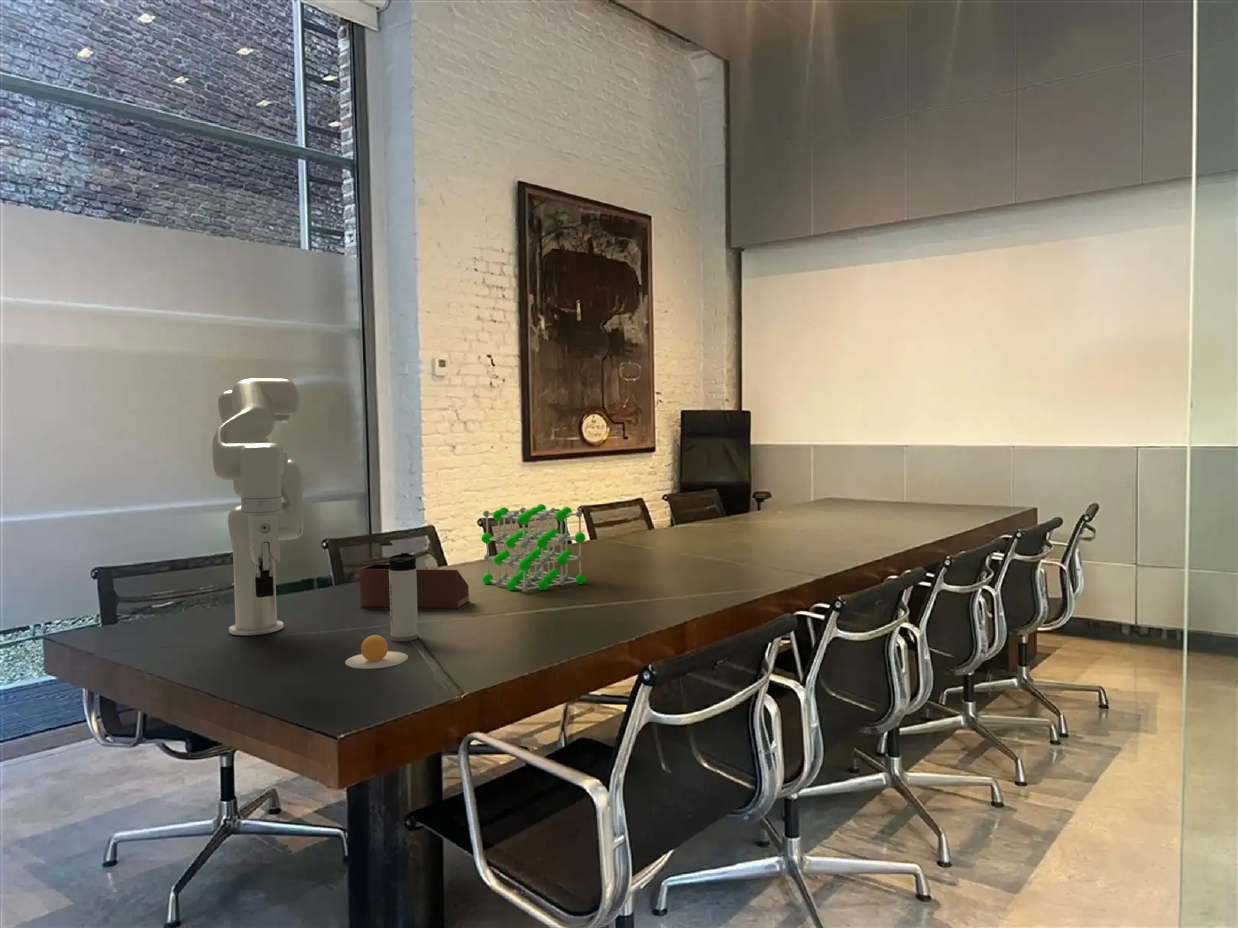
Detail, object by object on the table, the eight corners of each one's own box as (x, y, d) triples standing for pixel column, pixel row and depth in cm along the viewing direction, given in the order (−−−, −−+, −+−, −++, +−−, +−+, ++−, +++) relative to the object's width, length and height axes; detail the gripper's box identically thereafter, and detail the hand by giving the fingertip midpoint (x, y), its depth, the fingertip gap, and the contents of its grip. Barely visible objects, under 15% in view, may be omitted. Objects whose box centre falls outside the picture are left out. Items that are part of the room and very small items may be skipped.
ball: (367, 628, 186) (391, 638, 188) (355, 651, 186) (378, 661, 188) (370, 634, 181) (394, 644, 183) (357, 658, 180) (381, 668, 182)
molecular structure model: (543, 574, 289) (542, 503, 288) (588, 584, 269) (587, 508, 268) (480, 584, 273) (478, 508, 272) (523, 595, 254) (522, 514, 253)
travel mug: (420, 634, 207) (418, 552, 207) (415, 641, 201) (412, 556, 200) (394, 635, 207) (392, 552, 206) (388, 642, 201) (385, 557, 200)
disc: (340, 657, 188) (340, 656, 188) (399, 649, 194) (399, 648, 194) (352, 672, 176) (351, 671, 176) (414, 662, 183) (414, 662, 183)
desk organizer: (373, 601, 249) (372, 563, 249) (471, 603, 245) (470, 563, 245) (357, 609, 239) (356, 569, 239) (459, 611, 235) (458, 570, 234)
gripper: (286, 508, 169) (289, 600, 170) (277, 501, 182) (279, 587, 183) (244, 510, 165) (247, 605, 166) (238, 503, 178) (241, 591, 179)
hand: (264, 595), depth 174 cm, fingers closed
